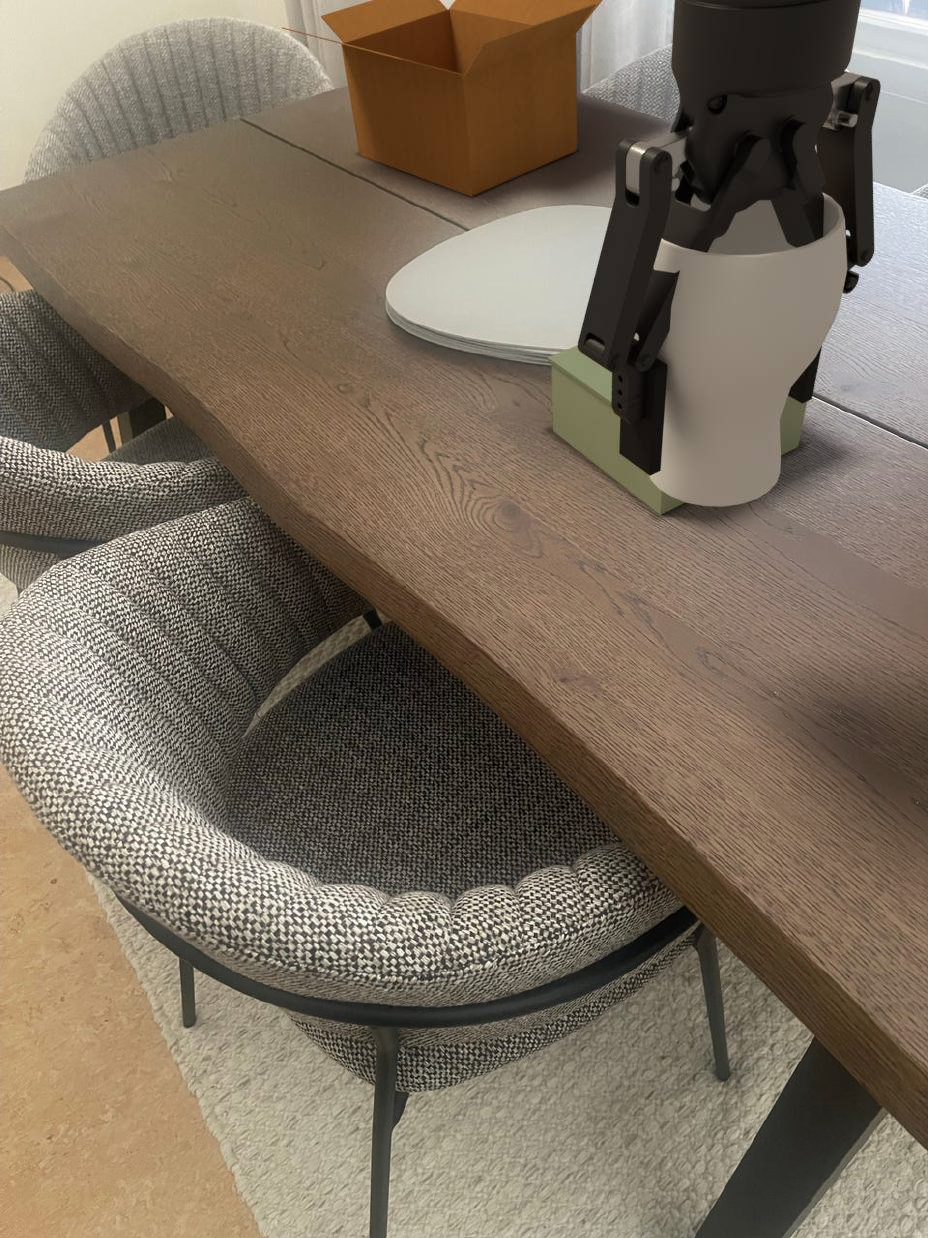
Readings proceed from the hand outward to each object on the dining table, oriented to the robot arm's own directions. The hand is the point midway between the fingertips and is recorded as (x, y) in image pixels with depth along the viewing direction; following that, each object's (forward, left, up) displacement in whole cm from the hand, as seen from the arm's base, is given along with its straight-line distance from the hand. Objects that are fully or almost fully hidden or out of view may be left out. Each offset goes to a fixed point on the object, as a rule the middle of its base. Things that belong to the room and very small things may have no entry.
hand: (717, 425), depth 54 cm
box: (+100, -41, -21) cm, 110 cm away
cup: (0, 0, -3) cm, 3 cm away
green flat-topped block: (+22, -17, -20) cm, 35 cm away
